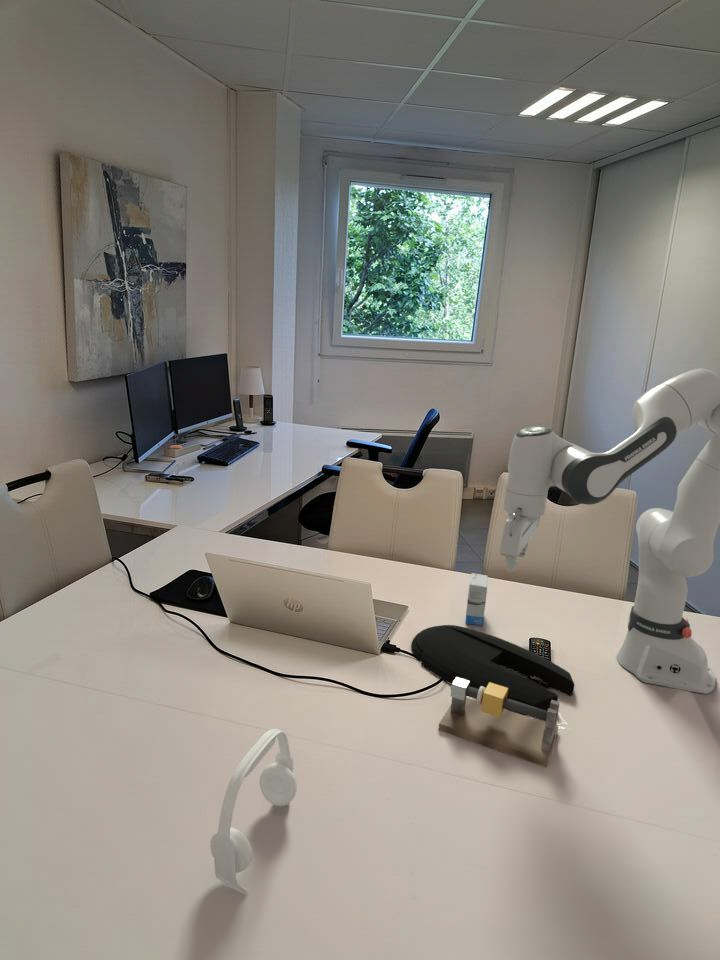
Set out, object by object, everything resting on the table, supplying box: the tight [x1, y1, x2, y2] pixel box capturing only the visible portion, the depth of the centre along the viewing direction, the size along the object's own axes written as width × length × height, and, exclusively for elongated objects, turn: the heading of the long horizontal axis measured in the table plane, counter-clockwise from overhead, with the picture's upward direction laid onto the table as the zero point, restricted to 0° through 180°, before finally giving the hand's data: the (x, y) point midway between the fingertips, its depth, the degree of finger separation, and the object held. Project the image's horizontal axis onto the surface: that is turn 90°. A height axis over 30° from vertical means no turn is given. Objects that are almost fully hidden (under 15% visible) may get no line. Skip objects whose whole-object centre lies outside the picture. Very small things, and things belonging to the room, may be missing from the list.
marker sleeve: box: [481, 682, 508, 718], centre depth 135 cm, size 4×4×4 cm
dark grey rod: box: [466, 686, 558, 723], centre depth 134 cm, size 18×4×4 cm, turn 64°
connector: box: [450, 677, 470, 716], centre depth 138 cm, size 3×3×7 cm
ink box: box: [465, 572, 489, 627], centre depth 182 cm, size 8×5×12 cm, turn 168°
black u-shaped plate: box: [410, 624, 575, 717], centre depth 159 cm, size 25×40×5 cm, turn 49°
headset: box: [209, 728, 298, 896], centre depth 103 cm, size 20×7×18 cm, turn 159°
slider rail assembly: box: [438, 696, 561, 768], centre depth 135 cm, size 22×12×10 cm, turn 64°
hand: (516, 562), depth 143 cm, fingers open, 8 cm apart
